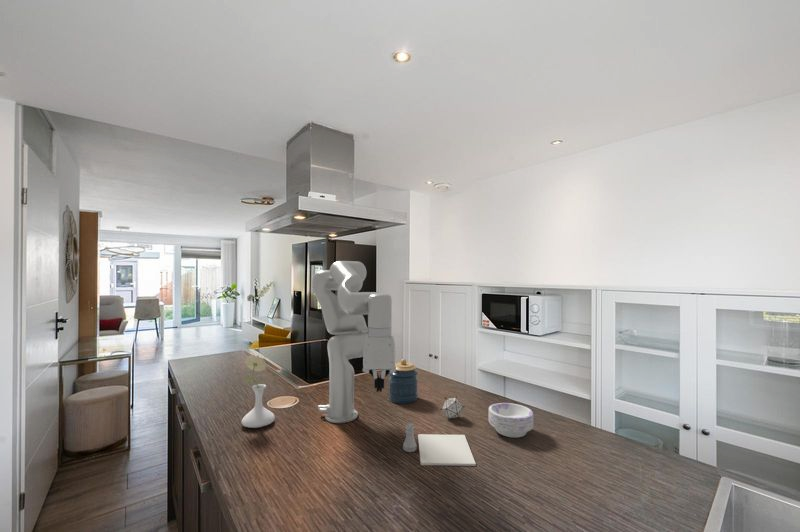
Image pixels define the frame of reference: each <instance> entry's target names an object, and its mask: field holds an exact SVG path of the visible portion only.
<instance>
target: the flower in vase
mask: <svg viewBox="0 0 800 532" xmlns="http://www.w3.org/2000/svg"><path fill="white" fill-rule="evenodd" d="M244 364H246V365H245V366H246V367H247V368H248V369H250V370H251V371H252V373H251V374H252V375H251V376H250V375H247V376H246V377H245V378H244V379H243V381H248V382H249V383H250V382H251V383H252V382H254V384H253V385H252V386H251V389H252V391H253V392H254V396H255V398H254V399H255V403H254V407H253V408H252V409H251V410H250V411H249V412H247V414H245V415H244V416H243V418H242V419H241V424H242V426H243V427H244V428H252V429H257V428H263V427H265V426H268V425H270V424H272V423H273V422H274V421H275V419H276V416H275V413H273V412H272V411H271V410H269V409H267V408H265V406H263V394H264V391H265V388H267V385H266V384H264V383H261V382H263V381H264V380H265V379H266V377H262V378H260V379H259V380H258V381H256V380H255V378H254V373H255V372H260V371H264V370H266V368H267V365H268V364H267V362H266V360H265V358H263V357H260V356H259V355H258V354H257V355H255V354H252V355H251V354H250V355H249V356H246V358H245V359H244ZM254 371H255V372H254ZM259 383H261V384H259Z"/></svg>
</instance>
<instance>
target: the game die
mask: <svg viewBox="0 0 800 532" xmlns="http://www.w3.org/2000/svg"><path fill="white" fill-rule="evenodd" d="M457 397H458V396H457V395H455V397H449V398H447V397H446V396H444V399H445V400H444V403H443V405H442V407H441V408H439V410H440V411H441V410H442V411H443V413H444V414H445V416H446V417H447V421H450V419H457V418H458V419H459V420H461V414H462V411H463V408H465V407H466V406H465V405H463V404H462V403H461V402H460V401H459V400H458V398H457Z"/></svg>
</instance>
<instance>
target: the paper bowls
mask: <svg viewBox="0 0 800 532" xmlns="http://www.w3.org/2000/svg"><path fill="white" fill-rule="evenodd" d="M488 423H489V424H490V425H491V426H492V427H494V429H495V431H496V432H497V433H498V434H500V435H501V436H504V437H507V438H511V439H512V438H514V439H516V438H522V437H525V436H526V435H527V433H528V432H530V431H532V430H533V429H534V411H532V409H531V408H529V407H527V406H524V405H522V404H516V403H511V402H500V403H493V404H491V405H489V407H488Z"/></svg>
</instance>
